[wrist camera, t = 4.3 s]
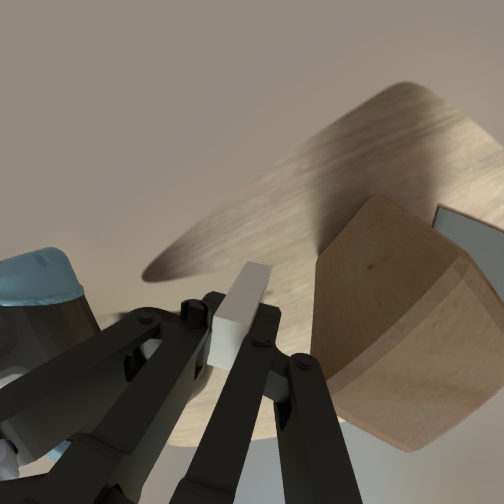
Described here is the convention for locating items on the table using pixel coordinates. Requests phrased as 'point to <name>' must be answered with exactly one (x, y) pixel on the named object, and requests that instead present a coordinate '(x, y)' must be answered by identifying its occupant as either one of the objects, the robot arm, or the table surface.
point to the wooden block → (404, 327)
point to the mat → (476, 244)
